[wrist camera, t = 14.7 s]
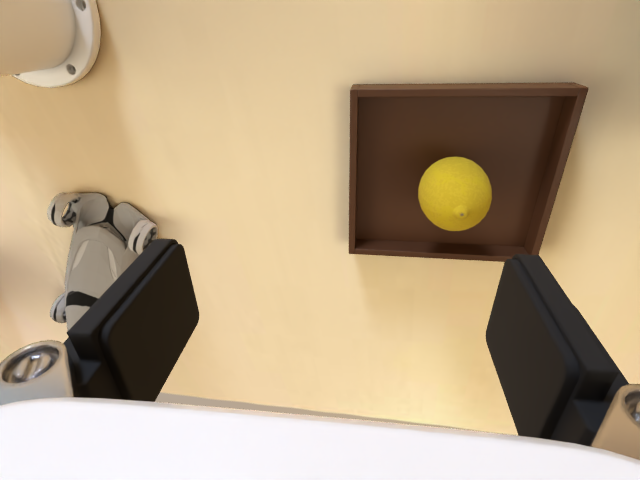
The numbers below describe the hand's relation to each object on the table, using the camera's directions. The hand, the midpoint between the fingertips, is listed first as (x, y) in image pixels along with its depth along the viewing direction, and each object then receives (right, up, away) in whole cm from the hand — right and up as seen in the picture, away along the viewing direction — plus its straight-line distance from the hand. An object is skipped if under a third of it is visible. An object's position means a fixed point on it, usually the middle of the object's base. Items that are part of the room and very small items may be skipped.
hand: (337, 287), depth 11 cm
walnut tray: (+11, +7, +24) cm, 27 cm away
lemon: (+11, +7, +23) cm, 27 cm away
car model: (-26, -4, +36) cm, 45 cm away
